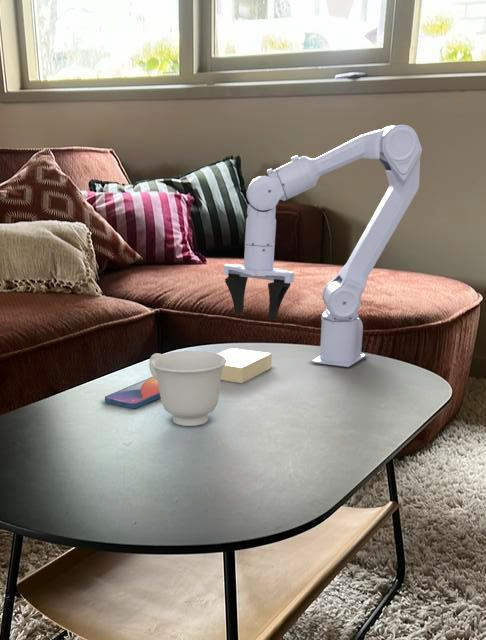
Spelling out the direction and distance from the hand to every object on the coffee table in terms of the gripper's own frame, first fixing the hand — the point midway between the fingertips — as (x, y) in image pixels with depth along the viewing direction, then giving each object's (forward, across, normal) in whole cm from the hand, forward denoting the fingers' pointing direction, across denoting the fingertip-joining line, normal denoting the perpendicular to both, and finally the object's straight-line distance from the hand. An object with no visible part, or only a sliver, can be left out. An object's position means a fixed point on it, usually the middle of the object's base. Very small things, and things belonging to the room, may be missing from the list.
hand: (255, 316), depth 152 cm
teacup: (+10, +7, -36) cm, 38 cm away
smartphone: (+10, -6, -29) cm, 31 cm away
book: (+10, +1, -8) cm, 13 cm away
